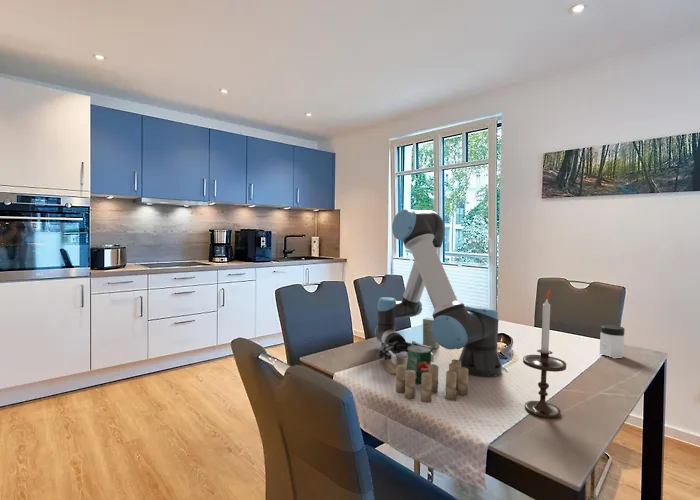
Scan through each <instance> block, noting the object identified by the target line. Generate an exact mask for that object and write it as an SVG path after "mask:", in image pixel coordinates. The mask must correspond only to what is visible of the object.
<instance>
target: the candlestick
mask: <svg viewBox="0 0 700 500" xmlns="http://www.w3.org/2000/svg"><path fill="white" fill-rule="evenodd" d="M550 294H551V289H548V291H547V292H546V295H545V302H544V303H543V304H542V315H541V316H542V319H541V320H542V321H541V342H540V344H541V346H540V347H541V348H540V349H537V350H536V352H537V353H540V354H527V355H524V356H523V357H522V362H523V364H524V365H526V366H527V367H530V368H531V369H534V370H535V369H536V370H538V371H540V372H541V373H540V381H539V382H537V386H538V388H539V391H538V395H539V396H540V397H539V400H529V401H526V402H525V404H524V410H525V411H526V412H527V413H528V414H530V415H532V416H534V417H538V418H540V419H541V418H542V419H548V420H549V419H550V420H551V419H552V420H554V419H558V418H560V417H561V415H562V413H561V412H562V411H561V409H560V407H557V406H556V405H554V404H552V403H550V402H547V401H546V397H547V396H548V395H549V392H547V390H548V389H549V387H550V385H549V383H548V382H547V375H548V373H547V372H553V373H555V372H557V373H558V372H563V371H565V370H567V362H566V361H565V360H562V359H560V358H557V357H554V356H550V355H552V354H553V353H554V352H553V351H551V350H549V349H550V345H549V344H550V326H551V324H550V323H551V322H550V321H551V304H550V303H549V296H550Z"/></svg>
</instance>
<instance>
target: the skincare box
mask: <svg viewBox="0 0 700 500" xmlns="http://www.w3.org/2000/svg"><path fill="white" fill-rule="evenodd" d="M433 320H434V318H433V317H425V318H423V319H422V344H423V345H426V346H429V347H432V349H437V348H439V347H440V345H439V344H438V343H437V342H436V340H435V339H434V337H433V334H432V330H431V328H432V322H433Z"/></svg>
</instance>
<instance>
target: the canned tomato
mask: <svg viewBox="0 0 700 500" xmlns="http://www.w3.org/2000/svg"><path fill="white" fill-rule="evenodd" d="M407 349H408V352H406V353H407V356H406V358H407V370H413V371H415V386H416V385H417V386H421V379H422V373H425V372H426V373H429V365H432V362H431V348H429V347H427V346H422V345H412V346H409V347H408V348H407Z"/></svg>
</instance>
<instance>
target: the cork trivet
mask: <svg viewBox="0 0 700 500" xmlns="http://www.w3.org/2000/svg"><path fill="white" fill-rule="evenodd" d="M378 362H379V363H380V364H381V366H383V368H384V369H385V370H386V371H387V372H388V373H389V375H392V376H393V375H396V366H397V365H399V364H401V365H405V366H406V370H407V357H403V358H397V362H396V364H393V363H392V361H391V360H390V359H388V360H385V359H384V358H383V359H379V360H378Z"/></svg>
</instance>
